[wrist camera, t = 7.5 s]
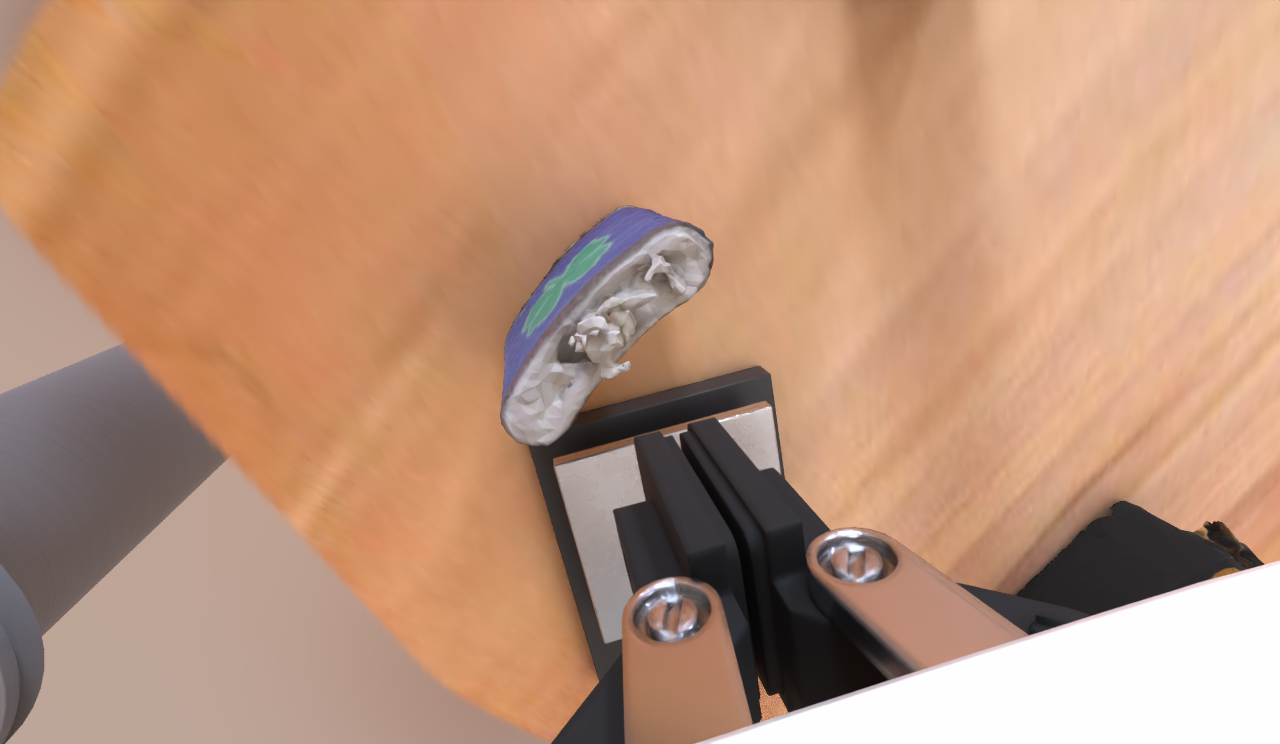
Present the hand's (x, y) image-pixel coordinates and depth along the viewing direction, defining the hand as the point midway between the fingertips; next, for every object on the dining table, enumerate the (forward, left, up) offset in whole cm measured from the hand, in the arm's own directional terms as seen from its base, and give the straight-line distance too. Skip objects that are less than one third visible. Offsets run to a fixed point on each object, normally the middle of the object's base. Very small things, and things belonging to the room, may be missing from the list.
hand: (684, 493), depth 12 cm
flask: (0, +1, -17) cm, 17 cm away
